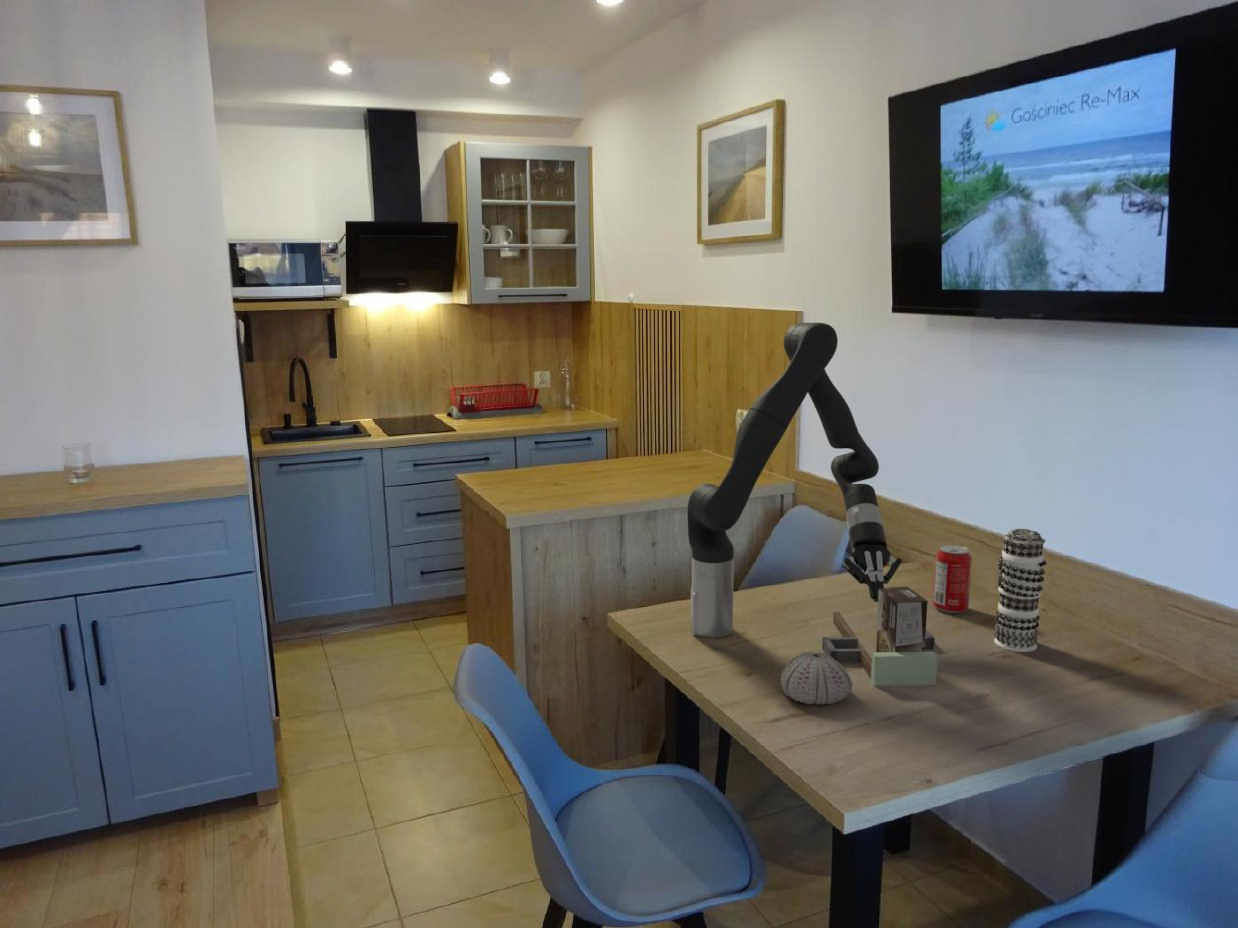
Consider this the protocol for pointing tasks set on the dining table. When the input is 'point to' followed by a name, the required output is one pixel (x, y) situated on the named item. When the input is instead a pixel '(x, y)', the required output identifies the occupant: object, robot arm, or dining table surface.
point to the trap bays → (854, 647)
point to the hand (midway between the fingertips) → (878, 600)
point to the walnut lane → (847, 632)
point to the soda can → (952, 579)
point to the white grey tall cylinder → (1019, 590)
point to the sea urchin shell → (815, 679)
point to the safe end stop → (903, 668)
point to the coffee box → (901, 620)
